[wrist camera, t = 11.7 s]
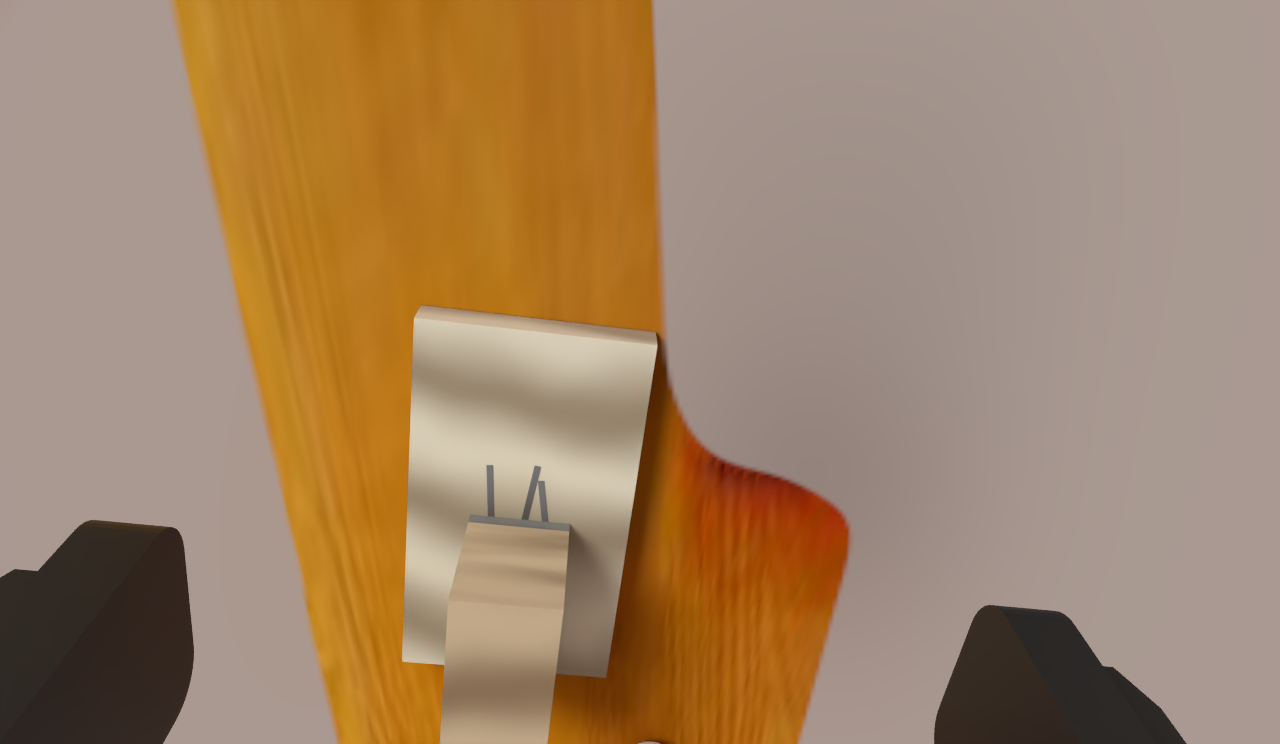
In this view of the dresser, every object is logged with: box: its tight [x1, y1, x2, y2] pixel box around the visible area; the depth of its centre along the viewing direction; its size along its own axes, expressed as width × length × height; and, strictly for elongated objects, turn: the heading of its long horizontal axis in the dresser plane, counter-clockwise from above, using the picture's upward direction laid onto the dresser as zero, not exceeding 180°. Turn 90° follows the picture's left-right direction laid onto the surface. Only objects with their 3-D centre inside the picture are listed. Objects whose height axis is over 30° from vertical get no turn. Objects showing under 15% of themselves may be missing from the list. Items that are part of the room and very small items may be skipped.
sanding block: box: [440, 515, 570, 744], centre depth 39 cm, size 8×4×6 cm, turn 173°
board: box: [402, 305, 658, 678], centre depth 41 cm, size 18×10×2 cm, turn 172°
